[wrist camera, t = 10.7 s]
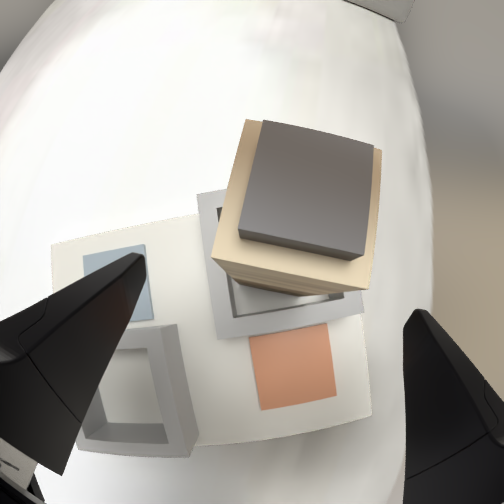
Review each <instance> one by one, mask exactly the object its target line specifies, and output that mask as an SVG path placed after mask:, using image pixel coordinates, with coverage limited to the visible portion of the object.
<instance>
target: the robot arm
mask: <svg viewBox="0 0 504 504" xmlns="http://www.w3.org/2000/svg"><path fill="white" fill-rule="evenodd" d="M146 277H147V273H146V263H145V257H144V255H143V254H140V253H136V252H131V253H129V254H127V255H125V256H123V257H121V258H119V259H117V260H115V261H113V262H111V263H109V264H108V265H106V266H104V267H102V268H100V269H98V270H96V271H94V272H92V273H90V274H88V275H87V276H85V277H83V278H81V279H79V280H77V281H75V282H74V283H72V284H70V285H68V286H66V287H64V288H63V289H61V290H59V291H57V292H55V293H54V294H52V295H50V296H48V298H45V299H43V300H41V301H39V302H38V303H36V304H34V305H32V306H30V307H28V308H27V309H25V310H23V311H21V312H19V313H17V314H15V315H13V316H11V317H8V318H6V319H4V320H2V321H0V504H46V503H44V501H45V500H44V497H43V495H42V493H41V490H40V488H39V485H38V482H37V480H36V477H35V474H34V471H35V469H36V466H37V464H38V463H39V464H41V465H43V466H44V467H46V468H48V469H50V470H52V471H53V472H55V473H57V474H59V475H61V476H62V475H63V472H64V470H65V467H66V464H67V462H68V459H69V456H70V454H71V451H72V448H73V446H74V443H75V441H76V438H77V436H78V433H79V431H80V428H81V426H82V423H83V420H84V418H85V416H86V413H87V411H88V409H89V406H90V404H91V402H92V399H93V397H94V395H95V393H96V390H97V388H98V386H99V384H100V381H101V379H102V377H103V375H104V373H105V371H106V368H107V366H108V364H109V362H110V360H111V358H112V356H113V354H114V352H115V350H116V348H117V346H118V344H119V341H120V339H121V337H122V335H123V333H124V331H125V329H126V327H127V326H128V323H129V321H130V319H131V317H132V314H133V312H134V309H135V307H136V304H137V301H138V299H139V296H140V294H141V291H142V289H143V286H144V284H145V281H146ZM403 376H404V391H405V413H406V462H405V481H404V495H403V504H504V402H503V401H502V399H501V398H500V397H499V396H498V395H497V393H496V392H495V391H494V390H493V388H492V387H491V386H490V384H489V383H488V382H487V381H486V380H484V377H483V376H482V374H481V373H480V372H479V371H478V369H477V368H476V367H475V366H474V364H473V363H472V362H471V361H470V360H469V358H468V357H467V356H466V355H465V353H464V352H463V351H462V350H461V349H460V348H459V346H458V345H457V344H456V343H455V342H454V341H453V339H452V338H451V337H450V336H449V335H448V334H447V332H446V331H445V330H444V329H443V328H442V327H441V326H440V325H439V324H438V322H437V321H436V320H435V319H434V318H433V317H432V316H431V315H430V313H429V312H428V311H426V310H423V309H415V310H414V311H413V313H412V314H411V316H410V317H409V319H408V320H407V322H406V323H405V325H404V328H403Z"/></svg>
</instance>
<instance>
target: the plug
mask: <svg viewBox="0 0 504 504" xmlns="http://www.w3.org/2000/svg"><path fill="white" fill-rule="evenodd" d="M381 160H382V150H380V149H377V148H374V145H371V144H367V143H364V142H360V141H357V140H353V139H349V138H346V137H342V136H338V135H334V134H330V133H326V132H321V131H317V130H313V129H308V128H304V127H299V126H294V125H289V124H284V123H279V122H273V121H268V120H263V122H260V121H254V120H248V119H246V120H245V124H244V127H243V131H242V134H241V138H240V142H239V145H238V149H237V153H236V157H235V160H234V164H233V168H232V172H231V176H230V180H229V184H228V187H227V191H226V195H225V199H224V203H223V207H222V211H221V216H220V220H219V224H218V228H217V232H216V236H215V241H214V245H213V249H212V253H211V258H212V259H213V260H214V261H215V262H216V263H217V264H218V265H219V266H220V267H221V268H222V269H223V270H224V271H225V272H226V273H227V274H228V275H230V276H231V277H232V278H233V279H234V280H235V281H236V282H237V283H238V284H240V285H244V286H249V287H254V288H259V289H263V290H268V291H273V292H278V293H283V294H288V295H293V296H298V297H304V296H314V295H323V294H332V293H341V292H350V291H358V290H366V289H369V283H370V277H371V270H372V263H373V256H374V248H375V239H376V230H377V220H378V209H379V197H380V181H381Z"/></svg>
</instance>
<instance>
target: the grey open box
mask: <svg viewBox="0 0 504 504" xmlns="http://www.w3.org/2000/svg"><path fill="white" fill-rule="evenodd" d="M347 1H350V2H352V3H355V4H358V5H360V6H363V7H365V8H368V9H370V10H372V11H375V12H377V13H379V14H382V15H384V16H386V17H388V18H390V19H393V20H395V21H397V22H399V23H403V22H405V21H406V19H407V17H408V15H409V13H410V11H411V8H412V6H413V3H414V1H415V0H347Z"/></svg>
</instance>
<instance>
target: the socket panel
mask: <svg viewBox="0 0 504 504" xmlns="http://www.w3.org/2000/svg"><path fill="white" fill-rule="evenodd" d="M226 191H227V189H224V190H218V191H212V192H207V193H201V194H197V202H198V210H199V214H193V215H188V216H183V217H177V218H172V219H167V220H162V221H156V222H151V223H146V224H141V225H137V226H132V227H127V228H122V229H117V230H113V231H108V232H104V233H99V234H95V235H90V236H86V237H82V238H77V239H73V240H69V241H65V242H60V243H56V244H52V245H51V266H52V284H53V294H54V293H55V292H57V291H59V290H61V289H63V288H64V287H66V286H68V285H70V284H72V283H74V282H75V281H77V280H79V279H81V278H83V277H85V276H87V275H88V274H90V273H92V272H94V271H96V270H98V269H100V268H102V267H104V266H106V265H108V264H109V263H111V262H113V261H115V260H117V259H119V258H121V257H123V256H125V255H127V254H129V253H131V252H136V253H140V254H143V255H144V257H145V263H146V273H147V277H146V281H145V284H144V286H143V289H142V291H141V294H140V296H139V299H138V301H137V304H136V307H135V309H134V312H133V314H132V317H131V319H130V321H129V323H128V326H127V327H126V329H125V331H124V333H123V335H122V337H121V339H120V341H119V344H118V346H117V348H116V350H115V352H114V354H113V356H112V358H111V360H110V362H109V364H108V366H107V368H106V371H105V373H104V375H103V377H102V379H101V381H100V384H99V386H98V388H97V390H96V393H95V395H94V397H93V399H92V402H91V404H90V406H89V409H88V411H87V413H86V416H85V418H84V420H83V423H82V426H81V428H80V431H79V433H78V436H77V438H76V444H77V447H78V450H82V451H89V452H96V453H104V454H114V455H125V456H139V457H189V456H190V454H191V452H192V450H193V448H194V446H212V445H225V444H236V443H245V442H253V441H261V440H268V439H274V438H281V437H286V436H292V435H297V434H302V433H307V432H312V431H316V430H321V429H325V428H329V427H333V426H337V425H341V424H345V423H349V422H352V421H356V420H359V419H363V418H366V417H369V416H372V408H371V395H370V383H369V373H368V364H367V355H366V347H365V339H364V332H363V324H362V318H361V313H364V306H363V300H362V294H361V290H358V291H350V292H341V293H332V294H323V295H314V296H304V297H298V296H293V295H288V294H283V293H278V292H273V291H268V290H263V289H259V288H254V287H249V286H244V285H240V284H238V283H237V282H236V281H235V280H234V279H233V278H232V277H231V276H230V275H228V274H227V273H226V272H225V271H224V270H223V269H222V268H221V267H220V266H219V265H218V264H217V263H216V262H215V261H214V260H213V259H212V258H211V253H212V249H213V245H214V241H215V236H216V232H217V228H218V224H219V220H220V216H221V211H222V207H223V203H224V199H225V195H226Z"/></svg>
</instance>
